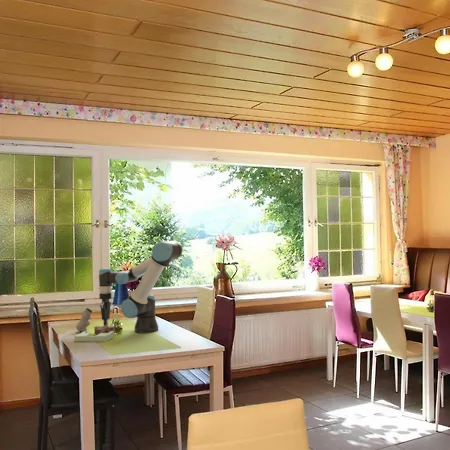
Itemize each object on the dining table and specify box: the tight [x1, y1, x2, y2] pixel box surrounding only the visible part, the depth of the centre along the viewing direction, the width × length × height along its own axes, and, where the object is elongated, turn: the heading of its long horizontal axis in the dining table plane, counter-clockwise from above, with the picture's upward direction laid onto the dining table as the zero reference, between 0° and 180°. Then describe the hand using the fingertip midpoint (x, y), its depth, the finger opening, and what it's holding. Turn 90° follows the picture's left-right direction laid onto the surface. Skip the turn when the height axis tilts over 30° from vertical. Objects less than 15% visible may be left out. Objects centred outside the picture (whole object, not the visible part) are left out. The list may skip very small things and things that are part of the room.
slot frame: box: [74, 331, 115, 342], centre depth 316 cm, size 19×14×3 cm
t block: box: [94, 325, 116, 336], centre depth 329 cm, size 12×12×4 cm
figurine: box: [75, 307, 93, 333], centre depth 340 cm, size 9×10×15 cm
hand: (106, 329), depth 336 cm, fingers closed
